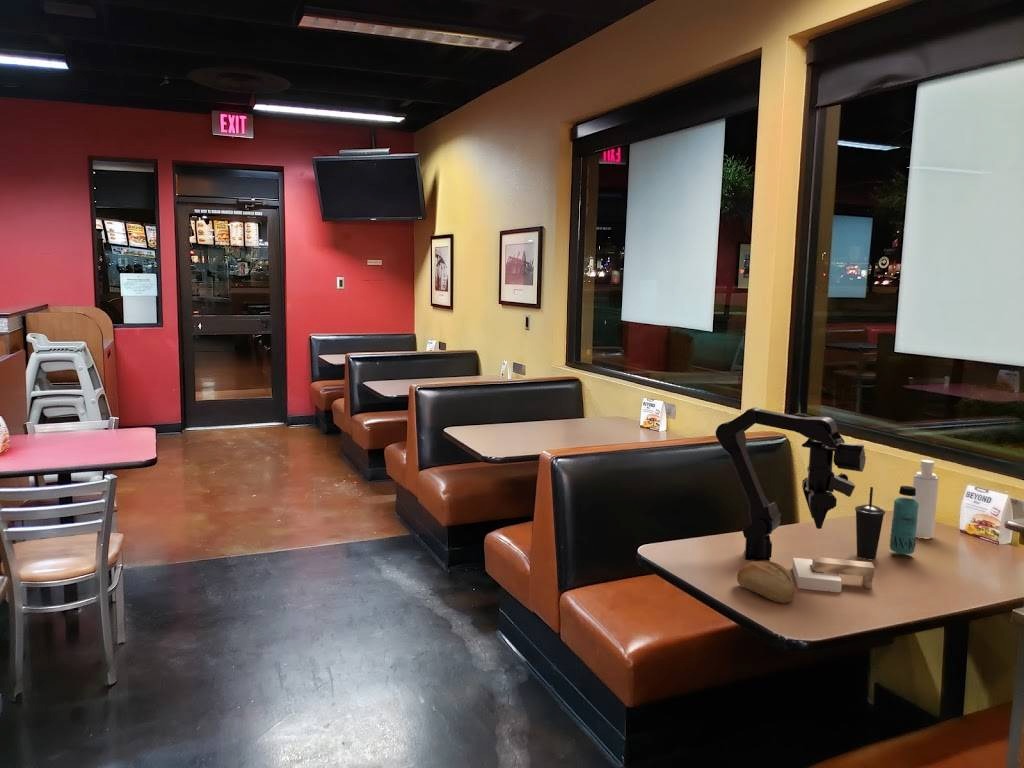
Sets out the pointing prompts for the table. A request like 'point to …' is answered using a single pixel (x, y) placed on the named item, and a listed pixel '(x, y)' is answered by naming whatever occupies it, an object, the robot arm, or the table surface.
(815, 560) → the tan elongated block
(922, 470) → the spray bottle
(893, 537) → the beverage bottle
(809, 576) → the white slotted block
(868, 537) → the drinking cup
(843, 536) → the table surface
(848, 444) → the robot arm
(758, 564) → the bread roll
